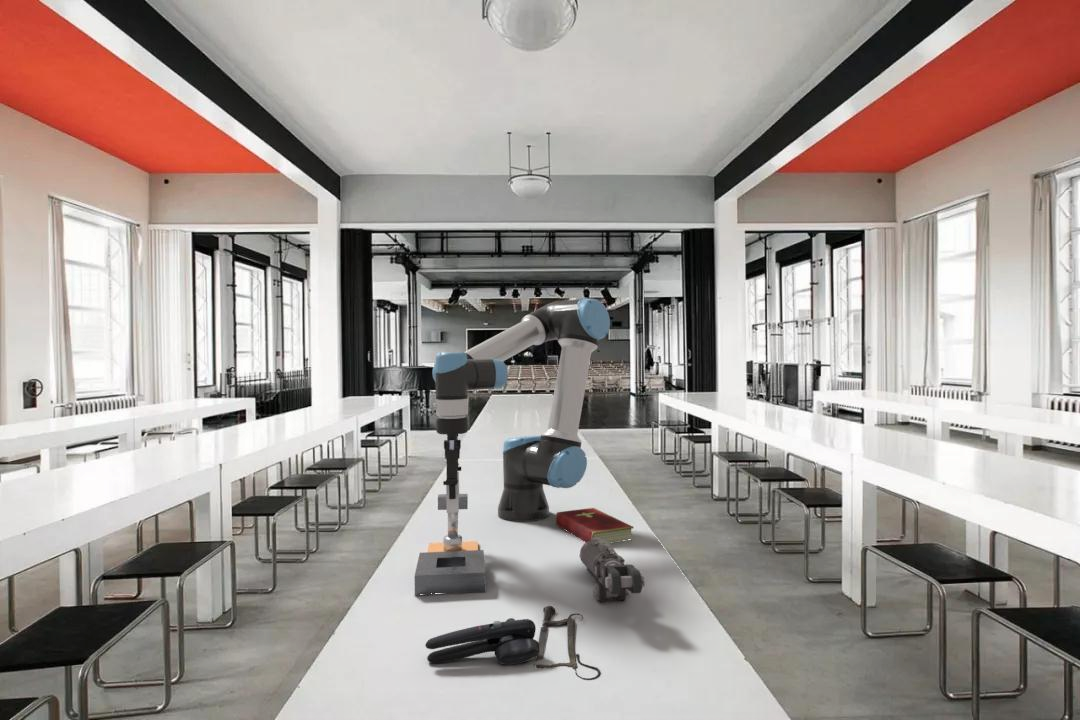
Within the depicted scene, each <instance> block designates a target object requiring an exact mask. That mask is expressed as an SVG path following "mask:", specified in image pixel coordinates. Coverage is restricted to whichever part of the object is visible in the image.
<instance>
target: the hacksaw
mask: <svg viewBox="0 0 1080 720" xmlns="http://www.w3.org/2000/svg"><path fill="white" fill-rule="evenodd" d="M555 614H556V608H555V607H554V606H552V605H547V606H544V607H543V619H542V626H540V631H539V637H538V643H539V654H538V655H537V656H536V657H535V662H538V661H542V660H544V657H545V650H546V644H547V636H548V630H549V626H555V627H557V626H562V625H565V624H567V652H568V653H567V654H568V657H569V662H558V663H554V664H540V663H539V664H537V663H534V664H533V667H535V668H536V669H539V670H540V669H541V670H543V669H552V668H557V667H567V668H572V669H573V670H574V671H575V672H574V673H575V675H576V677H578V678H579V679H581V680H585V681H592V680H596V679H598V678H599V677H600V676H601V670H600V669H599V668H598V667H597V666H596V667H595V666H593V665H589V664H585V663H582V662H581V660H580V655H579V653H576V652H575V651H576V649H575V639H576V638H575V630H576V629H575V628H576V620H575V619H573V618H572V617H573V616H576V615H577V616H581V619H580V620H579V622H581V621H583V619H584V616H583V615H582V614H580V613H577V612H576V613H571V614H569V616H568V617H567V618H563V619H559V620H551V618H552V616H553V615H555ZM578 665H580V666H582V667H585V668H589V669H592V670H595V671H596V672H597V674H596V675H595V676H594V677H590V678H589V677H588V678H586V677H582V676H580V675H579V674H578V670H577V669H578V668H579V667H578Z"/></svg>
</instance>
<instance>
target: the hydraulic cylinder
mask: <svg viewBox="0 0 1080 720" xmlns="http://www.w3.org/2000/svg"><path fill="white" fill-rule="evenodd" d="M579 558H580V559H579V560H580V561H581V563H582V564H583V565H584V566H585V567H586V568H587V569H588V570H589V571H590V572H591V573H592V574H593V575H594V576H595V577H596V580H595V587H593V589H592V590H593V591H592V593H593V598H594V599H596V600H597V601H598V602H606V601H607V598H616V599H617V601H625V600H627V599H626V598H628V599H630V593H631V594H641V593H642V591H643V587H645V584H646V580H645V577H644V576H645V575H642V574H641V573H640V572H641V571H640V570H639V569H638V568H636V567H635V565H633V564H625V560H626V559H625V558H623V556H621V555H619V554H618V553H617V552H616V550H615V549H614V548H613V546H612V545H611V543H610V544H609V543H608V542H606V541H603V540H602V539H600V538H591V541H589V542H587V543H586V542H584V544H583V545H582V546H581V548H580V551H579Z"/></svg>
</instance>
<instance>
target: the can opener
mask: <svg viewBox="0 0 1080 720" xmlns="http://www.w3.org/2000/svg"><path fill="white" fill-rule="evenodd" d="M535 635H536V624H535V622H534V621H533V620H532V619H529V618H523V619H515V618H513V617H509V618H508V619H506V620H505V621H499V620H495V621H493V622H491V623H487V624H480V625H475V626H471V627H466V628H462V629H459V630H458V629H457V630H454V631H451V632H447V633H445V634H441V635H438V636H434V637H431V638H429V639H428V640H427V641H426V642H425V645H424V646H425V648H426V649H428V650H434V651H432V652H430V653H429V654H428V656H427V657H426V659H427V662H429V663H431V664H440V663H441V664H443V663H449V662H454V661H459V660H462V659H466V658H470V657H473V656H476V655H481V654H485V653H491V652H492V653H493V652H494V656H495V658H496V659H497V661H498V662H499V663H500V664H502V665H516V664H517V665H518V664H521V663H524V662H525V663H526V662H527V661H531V660H533V659H534V658H536V656H537V655H538V654H539V643H538V642H539V640H537V639H534V638H535ZM445 647H446V648H445ZM441 648H442V649H441ZM436 649H439V650H436Z"/></svg>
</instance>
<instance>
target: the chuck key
mask: <svg viewBox="0 0 1080 720" xmlns="http://www.w3.org/2000/svg"><path fill="white" fill-rule="evenodd" d="M468 498H469V496H468V493H459V494H458V500H459V510H468ZM437 511H447V500H446V493H443V494H437ZM458 524H459V513H447V535H444V536H443V542H444V551H445V552H448V551H461V550H462V542H463V536H462V535H460V534H459V525H458Z"/></svg>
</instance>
